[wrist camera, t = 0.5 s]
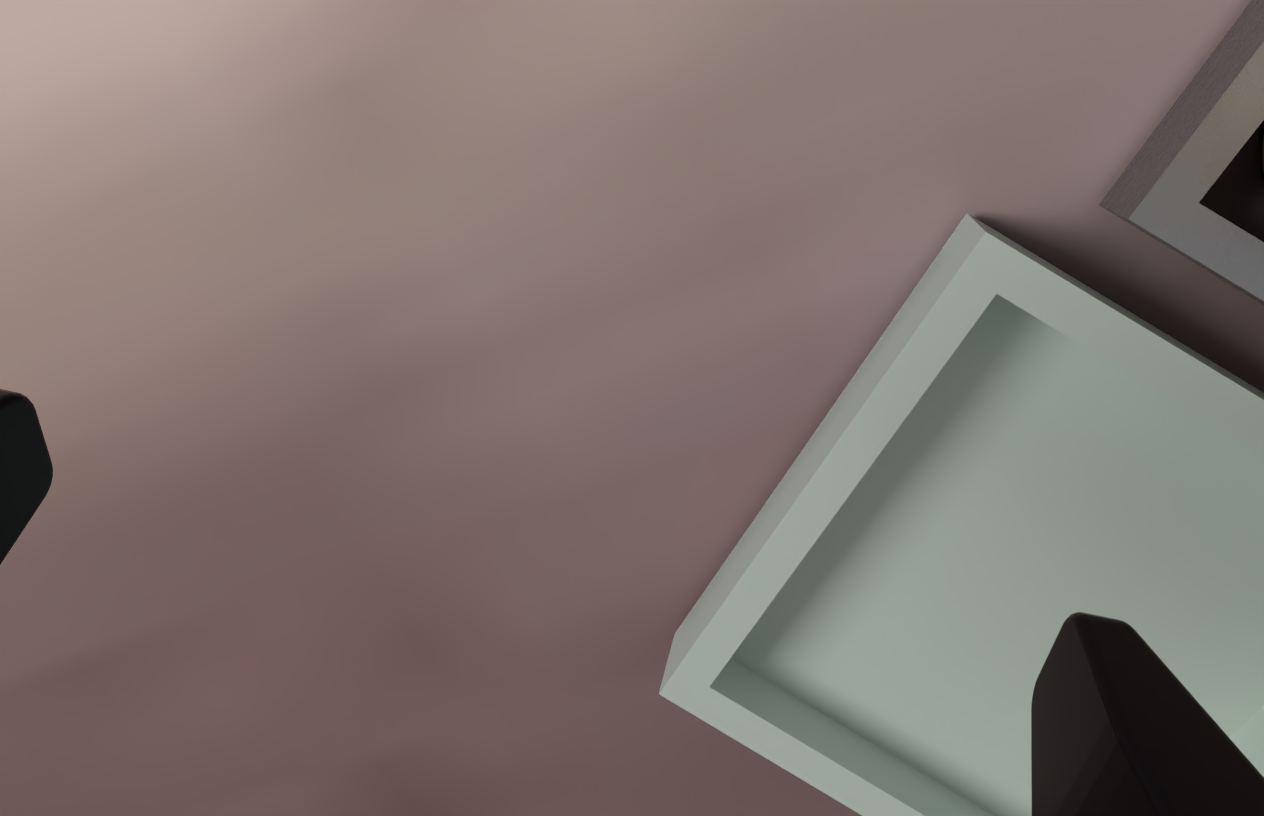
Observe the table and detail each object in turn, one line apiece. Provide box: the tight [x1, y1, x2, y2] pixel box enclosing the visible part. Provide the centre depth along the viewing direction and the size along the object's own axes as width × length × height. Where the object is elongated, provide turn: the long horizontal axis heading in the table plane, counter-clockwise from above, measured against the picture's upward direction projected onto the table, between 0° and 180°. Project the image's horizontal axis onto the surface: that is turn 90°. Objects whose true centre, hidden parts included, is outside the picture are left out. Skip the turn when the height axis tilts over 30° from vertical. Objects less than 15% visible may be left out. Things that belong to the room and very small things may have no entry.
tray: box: [659, 213, 1264, 816], centre depth 21 cm, size 12×12×2 cm
